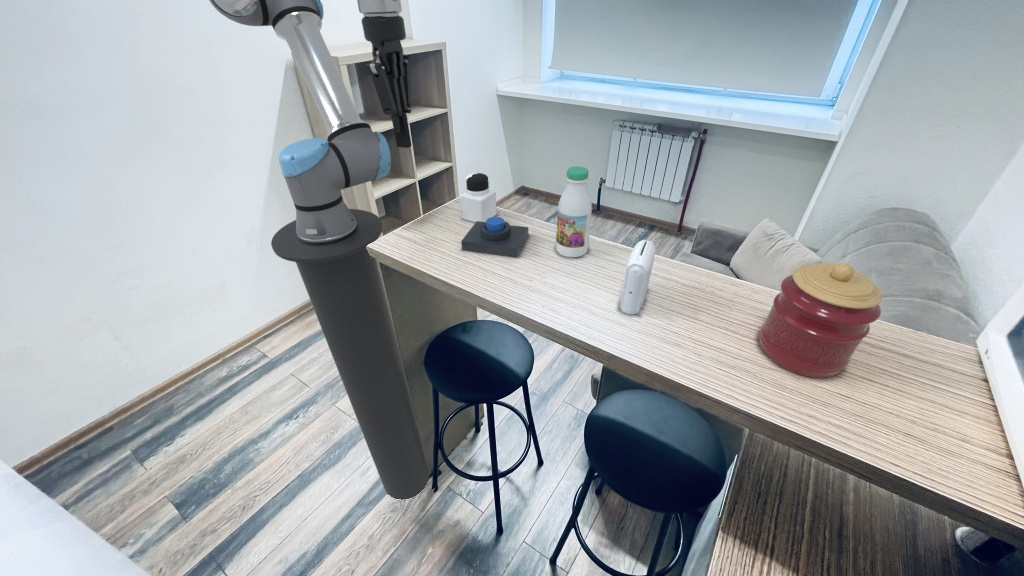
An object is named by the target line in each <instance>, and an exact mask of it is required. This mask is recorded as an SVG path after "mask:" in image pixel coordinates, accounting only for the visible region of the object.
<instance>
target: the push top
mask: <svg viewBox="0 0 1024 576" xmlns="http://www.w3.org/2000/svg"><path fill="white" fill-rule="evenodd" d="M504 221H505V220H504V218H503V217H501V216H494V217H490V218H488V219H487V220H486V229H487V230H488V231H492V232H497V231H501V230H504Z"/></svg>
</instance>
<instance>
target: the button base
mask: <svg viewBox="0 0 1024 576" xmlns="http://www.w3.org/2000/svg"><path fill="white" fill-rule="evenodd" d="M528 237H529V227H528V226H522V225H521V226H520V225H513V224H510V223H509V222H508V221H506V220H504V230H501V231H497V232H492V231H488V230H487V229H486V222H480V221H477V222H474V224H473V225H472V226H471V228H470V229H469V230H468V232H466V234H465V235H464V237H463V238H462V240H461V250H462V251H465V252H466V251H468V252H473V253H482V254H488V255H495V256H496V255H497V256H504V257H510V258H518V256H519V254H520V253H521V251H522V249H523V247H524V245H525V244H526V241H527V239H528Z"/></svg>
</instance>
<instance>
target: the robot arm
mask: <svg viewBox="0 0 1024 576" xmlns="http://www.w3.org/2000/svg"><path fill="white" fill-rule="evenodd" d="M208 1H209V2H210V4H211V6H212V7H214V8H215V10H216V11H217V12H219V13H220V14H221V15H222V16H224V17H225V18H227V19H228V20H230V21H233V22H235V23H238V24H240V25H243V26H248V27H250V26H251V27H272V29H273V31H274V33H275V35H276V36H277V37H278V38H279V39H281V40H283V41H285V42H286V43H287V45H288V48H289V50H290V52H291V54H292V56H293V58H294V60H295V62H296V64H297V66H298V68H299V71H300V73H301V74H302V77H303V79H304V81H305V83H306V85H307V87H308V89H309V91H310V93H311V96H312V97H313V100H314V102H315V105H316V106H317V108H318V110H319V112H320V114H321V116H322V118H323V121H324V122H325V125H326V126H327V127H326V128H327V129H328V133H327V136H326V139H325V138H321V137H312V138H305V139H300V140H298V141H294V142H293V143H289V144H288V145H287V146H285V147H284V148H283V149H281V150H280V152H279V154H278V162H279V165H280V169H281V174H282V176H283V177H284V180H285V183H286V186H287V188H288V192H289V194H290V197H291V200H292V203H293V205H294V208H295V220H296V233H297V236H298V239H299V240H300V241H301V242H302V243H305V244H309V245H326V244H331V243H335V242H339V241H341V240H344V239H346V238H348V237H350V236H351V235H352V234H354V233H355V232H356V230H357V228H358V226H357V222H356V219H355V217H354V216H353V214H352V213H351V211H350V210H349V209H350V208H349V207H348V206H347V204H346V202H345V201H344V198H343V195H342V190H345V189H348V188H352V187H355V186H359V185H362V184H365V183H369V182H375V181H376V180H378V179H381V178H385V177H386V176H387V175H388V174H389V173H390V170H391V165H392V157H391V150H390V146H389V144H388V141H387V138H386V137H385V136H384V135H383V134H382V133H381V132H380V131H374V130H373V129H372V127H371V125H370V123H369V122H368V121H366V120H363V119H361V117H360V114H359V113H358V110H357V108H356V106H355V103H354V101H353V99H352V98H351V95H350V94H349V91H348V89H347V87H346V84H345V82H344V81H343V78H342V76H341V74H340V72H339V70H338V67H337V65H336V63H335V61H334V59H333V56H332V54H331V53H330V49H329V48H328V46H327V43H326V41H325V39H324V38H323V35H322V32H321V29H322V26H323V19H324V6H323V3H322V1H321V0H208ZM356 1H357V6H358V13H360V14H362V15H363V17H362V19H361V24H362V25H361V26H362V30H363V36H364V40H365V41H366V42H370V43H371V48H372V49H371V50H372V51H371V54H372V60H371V62H367V63H366V64H365V65H366V69H367V71H368V73H369V74H370V76H371V78H372V82H373V85H374V89H375V91H376V94H377V97H378V100H379V104H380V106H381V109H382V112H383V115H385V116H390V117H391V122H392V127H393V133H394V138H395V143H396V148H403V149H404V148H406V149H409V148H411V147H412V140H411V135H410V127H409V121H408V115H407V114H411V113H412V109H411V108H412V87H411V85H412V84H411V61H412V57H411V55H410V54H405V53H404V47H403V46H402V41H404V40H406V38H407V32H406V26H405V19H404V17H403V16H401V15H400V13H402V11H403V8H402V1H401V0H356Z"/></svg>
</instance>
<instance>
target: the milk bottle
mask: <svg viewBox="0 0 1024 576" xmlns="http://www.w3.org/2000/svg"><path fill="white" fill-rule="evenodd" d="M588 180H589V169H588V168H586V167H584V166H570V167H569V168H567V170H566V181H567V182H566V186H565V187H564V190H563V192H562V194H561V196H560V198H559V201H558V206H557V215H556V216H557V219H556V233H555V249H556V252H557V253H558V254H559V255H561V256H564V257H566V258H580V257H582V256H585V255H586V253H587V252H588V251H589V245H590V244H589V242H590V232H591V222H592V211H593V205H592V199H591V195H590V193H589V189H588V185H587V182H588Z"/></svg>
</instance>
